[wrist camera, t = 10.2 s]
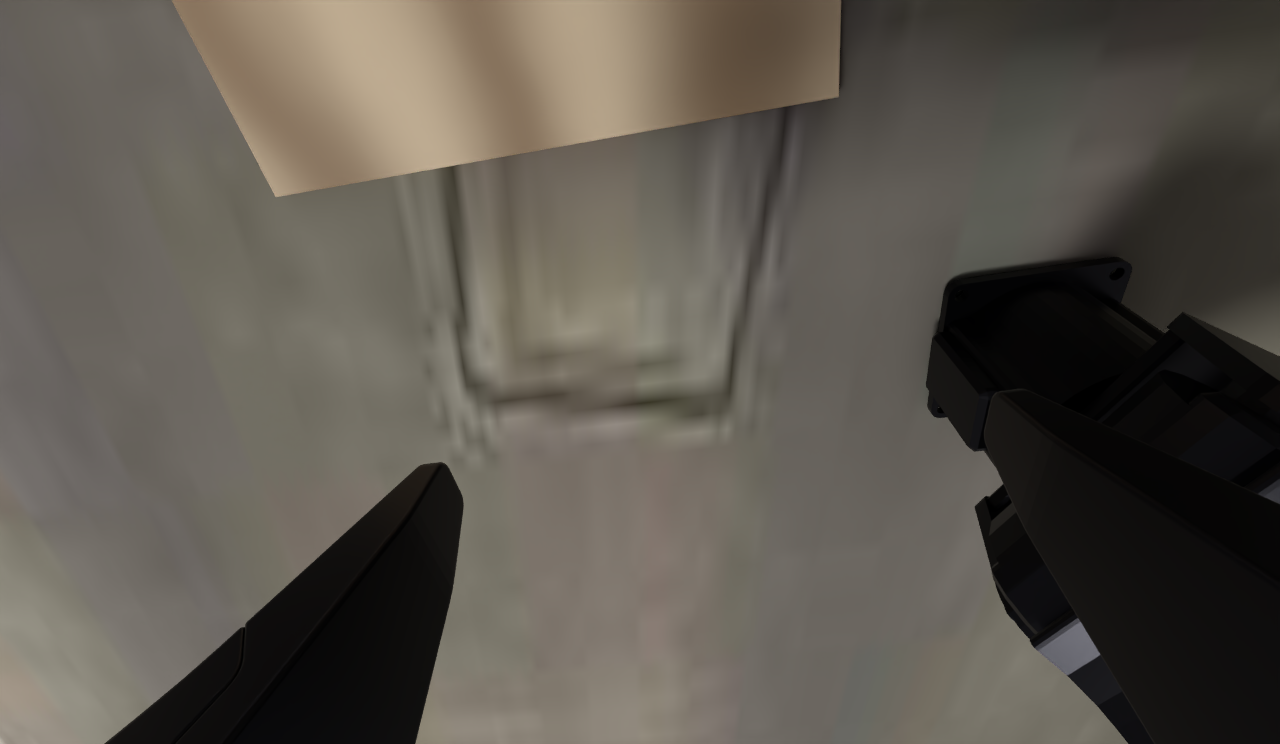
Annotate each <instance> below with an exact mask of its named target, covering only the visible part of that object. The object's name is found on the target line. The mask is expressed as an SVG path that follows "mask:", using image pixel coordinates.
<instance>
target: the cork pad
mask: <svg viewBox="0 0 1280 744" xmlns="http://www.w3.org/2000/svg"><path fill="white" fill-rule="evenodd" d="M172 2H173V4H174V5H175V7H176V9H177V11H178V13H179V15H180V17H181V19H182V21H183V22H184V24H185V26H186V28H187V30H188V32H189V34H190V36H191V38H192V39H193V41H194V43H195V45H196V47H197V49H198V51H199V53H200V55H201V56H202V58H203V60H204V62H205V64H206V66H207V68H208V70H209V72H210V73H211V75H212V77H213V79H214V81H215V83H216V85H217V87H218V89H219V90H220V92H221V94H222V96H223V98H224V100H225V102H226V104H227V106H228V107H229V109H230V111H231V113H232V115H233V117H234V119H235V121H236V123H237V124H238V126H239V128H240V130H241V132H242V134H243V136H244V138H245V140H246V141H247V143H248V145H249V147H250V149H251V151H252V153H253V155H254V157H255V158H256V160H257V162H258V164H259V166H260V168H261V170H262V172H263V173H264V175H265V177H266V179H267V181H268V183H269V185H270V187H271V189H272V190H273V192H274V194H275V196H276V197H279V196H285V195H290V194H296V193H301V192H307V191H313V190H318V189H324V188H330V187H335V186H341V185H346V184H352V183H358V182H363V181H369V180H375V179H380V178H386V177H391V176H397V175H403V174H408V173H414V172H420V171H425V170H431V169H437V168H442V167H448V166H453V165H459V164H465V163H470V162H476V161H482V160H487V159H493V158H498V157H504V156H510V155H515V154H521V153H527V152H532V151H538V150H543V149H549V148H555V147H560V146H566V145H572V144H577V143H583V142H588V141H594V140H600V139H605V138H611V137H617V136H622V135H628V134H634V133H639V132H645V131H650V130H656V129H662V128H667V127H673V126H679V125H684V124H690V123H695V122H701V121H707V120H712V119H718V118H724V117H729V116H735V115H740V114H746V113H752V112H757V111H763V110H769V109H774V108H780V107H786V106H791V105H797V104H802V103H808V102H814V101H819V100H825V99H831V98H836V97H839V65H840V25H841V0H172Z"/></svg>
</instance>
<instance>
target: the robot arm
mask: <svg viewBox="0 0 1280 744" xmlns="http://www.w3.org/2000/svg"><path fill="white" fill-rule="evenodd" d="M1116 268H1117V269H1116ZM1114 269H1116V271H1115V272H1114V273H1113V274H1111V275H1110V273H1111V272H1112V271H1113V270H1114ZM1131 272H1132V266H1131V264H1130V263H1128V262H1126V261H1125V260H1123V259H1121V258H1119V257H1111V258H1104V259H1097V260H1090V261H1083V262H1076V263H1069V264H1063V265H1056V266H1049V267H1042V268H1035V269H1028V270H1021V271H1014V272H1007V273H1000V274H993V275H986V276H980V277H973V278H966V279H959V280H956V281H953V282H952V283H950V284H949V285H948V286H947V287H946V288H945V291H944V294H943V301H942V308H941V315H940V321H939V328H938V332H937V333H936V334H935V336H934V337H933V339H932V345H931V352H930V359H929V366H928V374H927V381H926V387H927V388H928V390H929V397H928V404H927V406H928V409H929V411H930V412H931V414H932V415H933V416H934V417H937V418H944V417H948V419H949V420H950V422H951V423H952V425H953V426H954V428H955V429H956V430H957V432H958V433H959V435H960V436H961V438H962V439H963V441H964V442H965V443H966V445H967V446H968V447H969V448H970V449H972V450H973V451H974V452H975V451H984V452H985V453H986V454H987V456H988V457H989V459H990V460H991V461H992V463H993V464H994V465H995V467H996V468H997V471H998V473H999V475H1000V477H1001V479H1002V482H1003V485H1002V486H1000V487H999V488H998V489H997V490H996V491H995V492H994V493H993V494H992V495H991V496H990V497H988V496H985V497H984V498H983V499H982V500H981V501H980V502H979V503H978V504H977V505H976V506H975V510H976V514H977V517H978V521H979V525H980V529H981V532H982V536H983V540H984V543H985V547H986V551H987V555H988V558H989V562H990V566H991V570H992V575H993V579H994V581H995V584H996V588H997V591H998V593H999V596H1000V599H1001V601H1002V603H1003V604H1004V607H1005V610H1006V612H1007V614H1008V615H1009V617H1010V618H1011V619H1012V620H1014V621H1015V623H1016V624H1017V625H1018V627H1019V628H1020V629H1021V630H1022V631H1023V632H1024V633H1025V635H1026V636H1027V637H1028V638H1029V639H1030V642H1031V644H1032V645H1033V647H1034V648H1035V649H1036V650H1037V651H1039V652H1040V653H1041V654H1042V655H1043V656H1045V657H1046V658H1047V659H1048V660H1049V661H1051V662H1052V663H1053V664H1054V665H1055V666H1057V667H1058V668H1059V669H1060V670H1061V671H1062V672H1064V673H1065V674H1066V675H1067V676H1068V677H1069V678H1070V679H1071V680H1072V681H1073V682H1074V683H1075V684H1076V685H1077V686H1078V687H1079V688H1080V689H1081V690H1082V691H1083V692H1084V693H1085V694H1086V695H1087V696H1088V697H1089V698H1090V699H1091V700H1092V701H1093V702H1094V703H1095V704H1096V705H1097V706H1098V707H1099V709H1100V710H1101V711H1102V712H1103V713H1104V714H1105V716H1106V717H1107V718H1108V719H1109V720H1110V722H1111V723H1112V724H1113V725H1114V726H1115V727H1116V729H1117V730H1118V731H1119V732H1120V734H1121V735H1122V736H1123V737H1124V739H1125V740H1126V741H1127V742H1128V744H1280V356H1277V355H1275V354H1273V353H1271V352H1269V351H1267V350H1264V349H1262V348H1260V347H1258V346H1256V345H1253V344H1251V343H1249V342H1247V341H1245V340H1243V339H1240V338H1238V337H1236V336H1234V335H1232V334H1230V333H1227V332H1225V331H1223V330H1221V329H1219V328H1217V327H1214V326H1212V325H1210V324H1208V323H1206V322H1204V321H1201V320H1199V319H1197V318H1195V317H1193V316H1191V315H1188V314H1186V313H1184V312H1182V313H1181V314H1180V315H1179V316H1178V317H1177V318H1176V319H1175V320H1174V321H1173V322H1172V323H1171V324H1170V325H1168V326H1167V328H1168V329H1170V330H1169V331H1168V332H1166V333H1163V332H1162V331H1160V330H1159V329H1157V328H1156V327H1155V326H1153V325H1152V324H1150V323H1149V322H1147V321H1146V320H1144V319H1143V318H1141V317H1140V316H1138V315H1137V314H1136V313H1134V312H1133V311H1131V310H1130V309H1128V308H1127V307H1125V306H1124V305H1122V304H1121V301H1122V298H1123V295H1124V292H1125V289H1126V287H1127V284H1128V281H1129V278H1130V275H1131ZM961 290H964V292H963V294H961V295H960V296H958V297H955V295H956V294H957V293H958V292H959V291H961ZM939 406H940V408H938V407H939ZM463 507H464V505H463V497H462V494H461V492H460V490H459V488H458V486H457V484H456V482H455V480H454V477H453V475H452V473H451V471H450V469H449V468H448V466H447V465H446V464H445V463H442V462H438V463H430V464H423V465H420V466H419V467H417V468H416V469H415V470H414V471H413V472H412V473H411V474H410V475H408V476H407V477H406V478H405V479H404V480H403V481H402V482H401V483H400V484H399V485H397V486H396V487H395V488H394V489H393V490H392V491H391V492H390V493H389V494H388V495H386V496H385V497H384V498H383V499H382V500H381V501H380V502H379V503H378V504H377V505H375V506H374V507H373V508H372V509H371V510H370V511H369V512H368V513H367V514H366V515H364V516H363V517H362V518H361V519H360V520H359V521H358V522H357V523H356V524H355V525H353V526H352V527H351V528H350V529H349V530H348V531H347V532H346V533H345V534H343V535H342V536H341V537H340V538H339V539H338V540H337V541H336V542H335V543H334V544H332V545H331V546H330V547H329V548H328V549H327V550H326V551H325V552H324V553H323V554H321V555H320V556H319V557H318V558H317V559H316V560H315V561H314V562H313V563H312V564H310V565H309V566H308V567H307V568H306V569H305V570H304V571H303V572H302V573H301V574H299V575H298V576H297V577H296V578H295V579H294V580H293V581H292V582H291V583H289V584H288V585H287V586H286V587H285V588H284V589H283V590H282V591H281V592H280V593H278V594H277V595H276V596H275V597H274V598H273V599H272V600H271V601H270V602H269V603H267V604H266V605H265V606H264V607H263V608H262V609H261V610H260V611H259V612H257V613H256V614H255V615H254V616H253V617H252V618H251V619H250V620H249V621H248V622H247V623H246V624H245V627H242V628H240V629H239V630H237V631H236V632H235V633H234V634H233V635H232V636H231V637H230V638H229V639H228V640H227V641H225V642H224V643H223V644H222V645H221V646H220V647H219V648H218V649H217V650H215V651H214V652H213V653H212V654H211V655H210V656H209V657H207V658H206V659H205V660H204V661H203V662H202V663H201V664H200V665H198V666H197V667H196V668H195V669H194V670H193V671H192V672H190V673H189V674H188V675H187V676H186V677H185V678H184V679H182V680H181V681H180V682H179V683H178V684H176V685H175V686H174V687H173V688H172V689H170V690H169V691H168V692H167V693H166V694H164V695H163V696H162V697H161V698H160V699H159V700H157V701H156V702H155V703H154V704H152V705H151V706H150V707H149V708H148V709H146V710H145V711H144V712H143V713H142V714H140V715H139V716H138V717H137V718H135V719H134V720H133V721H132V722H131V723H129V724H128V725H127V726H126V727H124V728H123V729H122V730H121V731H119V732H118V733H117V734H116V735H115V736H113V737H112V738H111V739H110V740H108V741H107V742H106V743H105V744H415V743H416V739H417V735H418V730H419V726H420V722H421V718H422V714H423V710H424V706H425V702H426V698H427V694H428V690H429V685H430V681H431V677H432V673H433V669H434V665H435V661H436V657H437V653H438V649H439V645H440V640H441V636H442V632H443V628H444V624H445V620H446V616H447V612H448V608H449V604H450V599H451V595H452V590H453V584H454V578H455V570H456V562H457V555H458V547H459V539H460V531H461V524H462V516H463Z"/></svg>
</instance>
